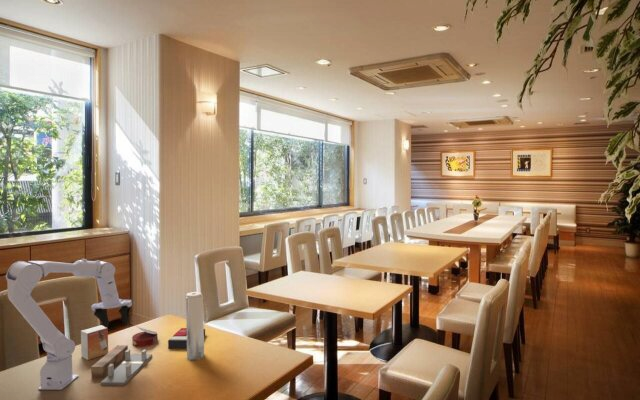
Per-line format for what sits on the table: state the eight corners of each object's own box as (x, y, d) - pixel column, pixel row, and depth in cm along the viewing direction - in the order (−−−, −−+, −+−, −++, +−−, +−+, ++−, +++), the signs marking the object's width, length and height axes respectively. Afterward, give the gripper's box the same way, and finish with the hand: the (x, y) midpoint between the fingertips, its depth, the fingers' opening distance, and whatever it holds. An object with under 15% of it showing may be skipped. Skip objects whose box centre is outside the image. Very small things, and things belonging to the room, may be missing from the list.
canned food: (136, 350, 177) (137, 326, 181) (160, 347, 178) (161, 323, 182) (126, 348, 166) (127, 323, 170) (152, 344, 167) (152, 319, 171)
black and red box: (205, 327, 182) (194, 338, 167) (205, 336, 182) (194, 349, 167) (180, 327, 182) (167, 338, 167) (180, 336, 182) (167, 349, 167)
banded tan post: (103, 378, 143) (102, 366, 143) (91, 378, 143) (91, 366, 143) (128, 355, 161) (127, 345, 161) (117, 355, 161) (117, 345, 161)
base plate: (124, 385, 138) (123, 372, 138) (100, 385, 138) (100, 372, 138) (152, 356, 160) (151, 345, 160) (131, 356, 160) (131, 345, 160)
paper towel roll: (199, 361, 156) (197, 296, 155) (183, 359, 157) (182, 295, 156) (207, 354, 162) (206, 291, 161) (192, 352, 164) (190, 290, 162)
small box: (87, 360, 157) (86, 333, 156) (81, 356, 160) (80, 330, 159) (109, 353, 163) (108, 327, 162) (102, 349, 166) (101, 324, 166)
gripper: (132, 285, 158) (139, 317, 161) (95, 289, 158) (103, 321, 161) (123, 293, 151) (131, 327, 154) (85, 298, 151) (93, 331, 154)
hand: (116, 325), depth 157 cm, fingers open, 7 cm apart
